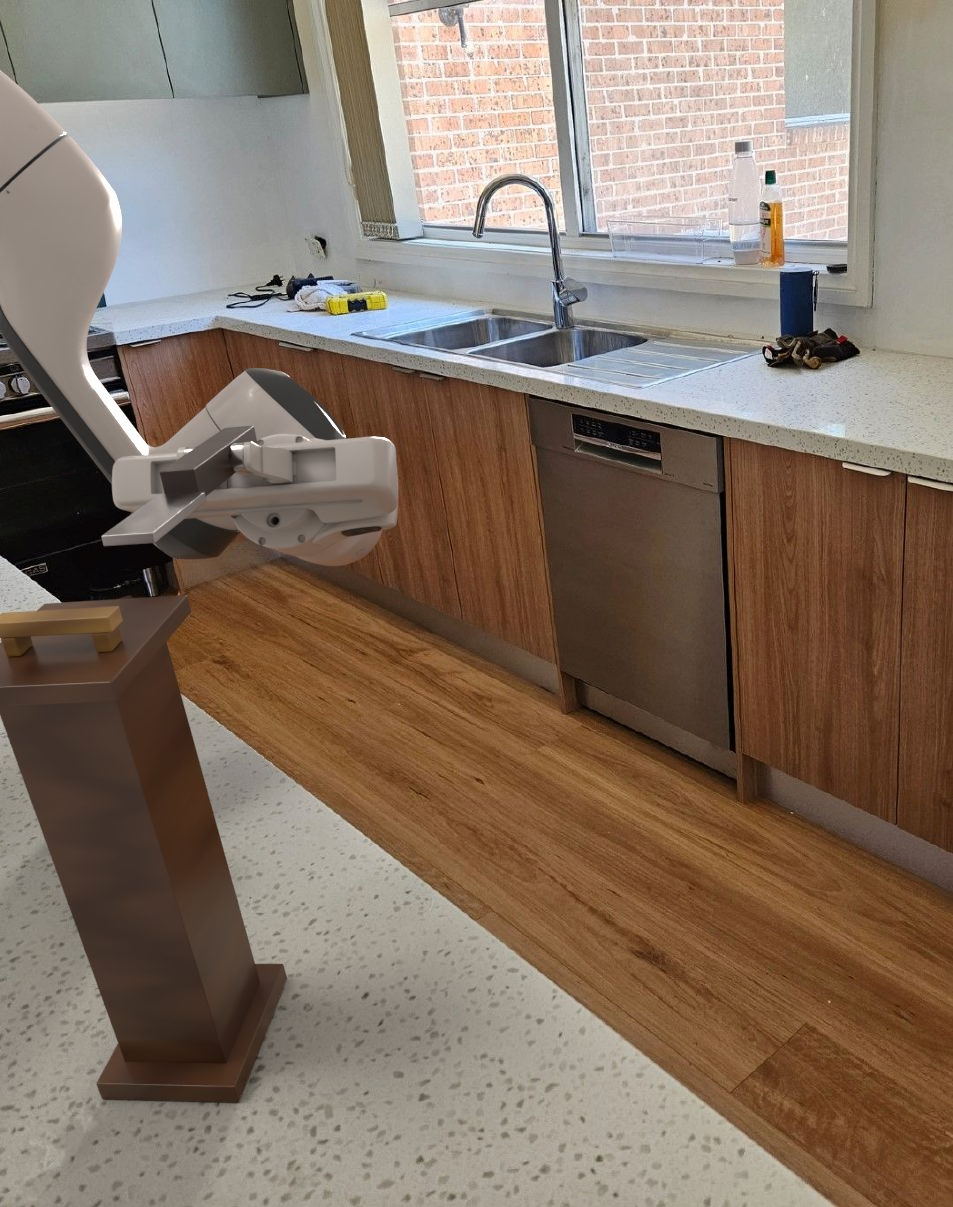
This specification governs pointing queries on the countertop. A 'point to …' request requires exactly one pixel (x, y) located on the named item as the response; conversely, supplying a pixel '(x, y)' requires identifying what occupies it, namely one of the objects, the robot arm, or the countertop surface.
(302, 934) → the countertop surface
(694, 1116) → the countertop surface
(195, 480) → the knife
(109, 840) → the brown wooden pedestal
